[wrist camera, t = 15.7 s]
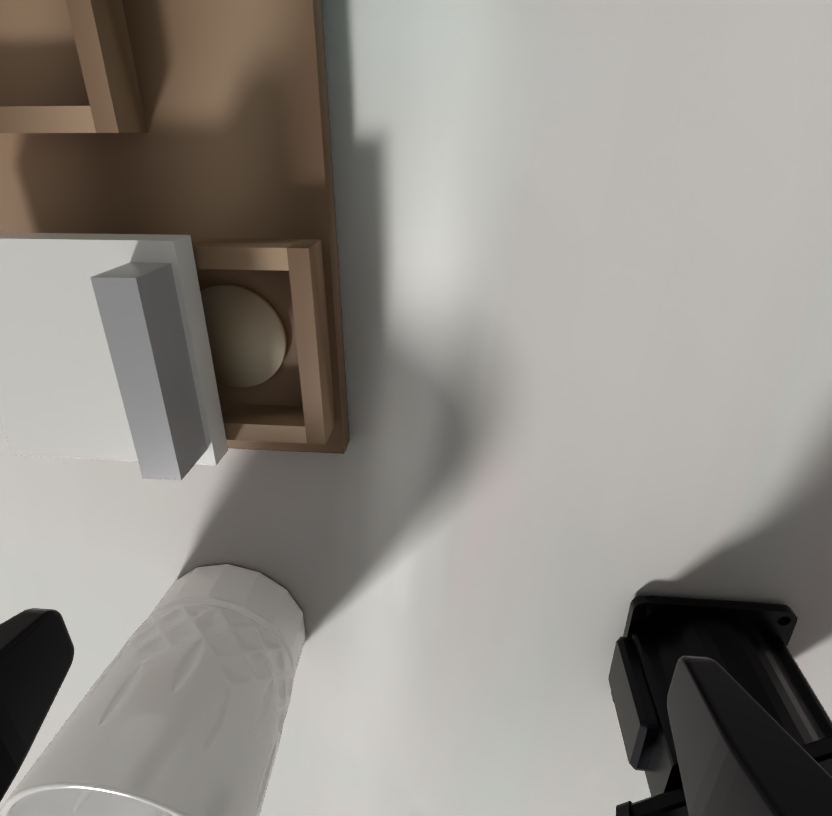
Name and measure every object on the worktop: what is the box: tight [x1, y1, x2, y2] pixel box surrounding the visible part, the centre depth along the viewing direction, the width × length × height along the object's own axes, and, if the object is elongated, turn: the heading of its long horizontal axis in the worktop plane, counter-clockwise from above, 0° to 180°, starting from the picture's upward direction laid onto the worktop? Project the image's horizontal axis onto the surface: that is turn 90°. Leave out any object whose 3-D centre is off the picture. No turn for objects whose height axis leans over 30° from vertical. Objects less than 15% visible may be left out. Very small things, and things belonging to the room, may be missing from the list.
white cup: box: [0, 564, 305, 816], centre depth 22 cm, size 8×8×10 cm
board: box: [0, 0, 350, 454], centre depth 17 cm, size 12×18×2 cm, turn 1°
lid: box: [0, 232, 228, 480], centre depth 17 cm, size 7×7×3 cm
